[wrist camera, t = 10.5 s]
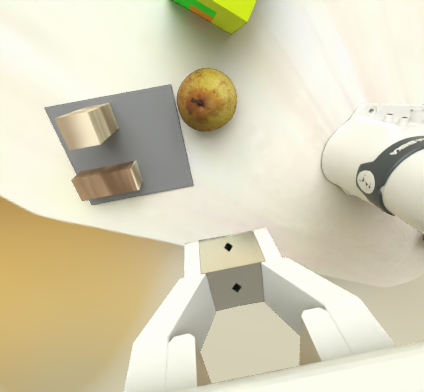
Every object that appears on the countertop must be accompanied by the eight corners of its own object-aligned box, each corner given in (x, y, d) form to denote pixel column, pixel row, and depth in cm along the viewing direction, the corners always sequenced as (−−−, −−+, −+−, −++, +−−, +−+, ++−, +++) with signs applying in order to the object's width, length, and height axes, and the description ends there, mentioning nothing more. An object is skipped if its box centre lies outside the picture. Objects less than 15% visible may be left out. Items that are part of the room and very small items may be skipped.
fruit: (240, 107, 40) (261, 120, 29) (195, 135, 41) (199, 157, 30) (216, 56, 36) (229, 50, 25) (167, 88, 37) (160, 95, 26)
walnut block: (131, 168, 38) (71, 180, 38) (139, 189, 40) (81, 200, 40) (136, 160, 41) (80, 171, 41) (142, 180, 43) (90, 190, 43)
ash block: (110, 102, 37) (87, 112, 28) (119, 128, 39) (100, 144, 30) (85, 107, 37) (54, 118, 28) (95, 132, 38) (69, 150, 30)
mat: (170, 84, 37) (170, 84, 36) (193, 184, 45) (193, 185, 45) (45, 107, 36) (44, 107, 36) (92, 204, 45) (91, 205, 45)
